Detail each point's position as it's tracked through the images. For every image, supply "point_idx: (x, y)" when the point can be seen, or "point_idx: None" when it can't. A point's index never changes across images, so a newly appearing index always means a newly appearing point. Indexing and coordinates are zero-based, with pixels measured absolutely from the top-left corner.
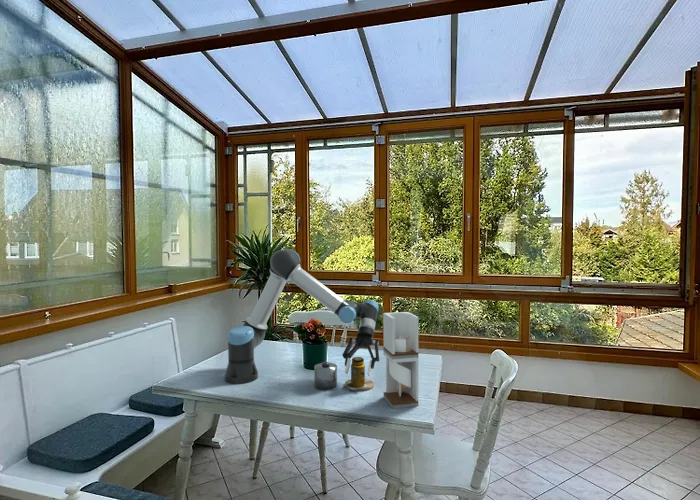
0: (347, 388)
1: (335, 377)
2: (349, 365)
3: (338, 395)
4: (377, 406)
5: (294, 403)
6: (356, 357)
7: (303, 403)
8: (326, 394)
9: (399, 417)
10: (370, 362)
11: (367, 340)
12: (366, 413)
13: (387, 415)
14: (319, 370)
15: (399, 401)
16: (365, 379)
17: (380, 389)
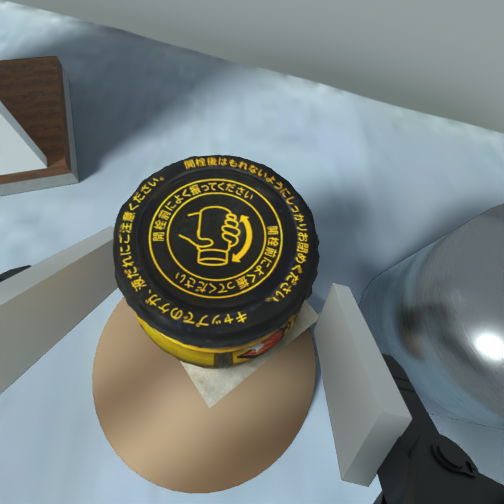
0: None
1: (397, 284)
2: (330, 392)
3: (320, 205)
4: (133, 98)
5: (476, 135)
6: (247, 302)
7: (443, 133)
8: (382, 217)
9: (63, 24)
10: (17, 281)
11: None
12: (186, 54)
13: (106, 38)
14: None
15: (13, 68)
16: (153, 463)
17: None
